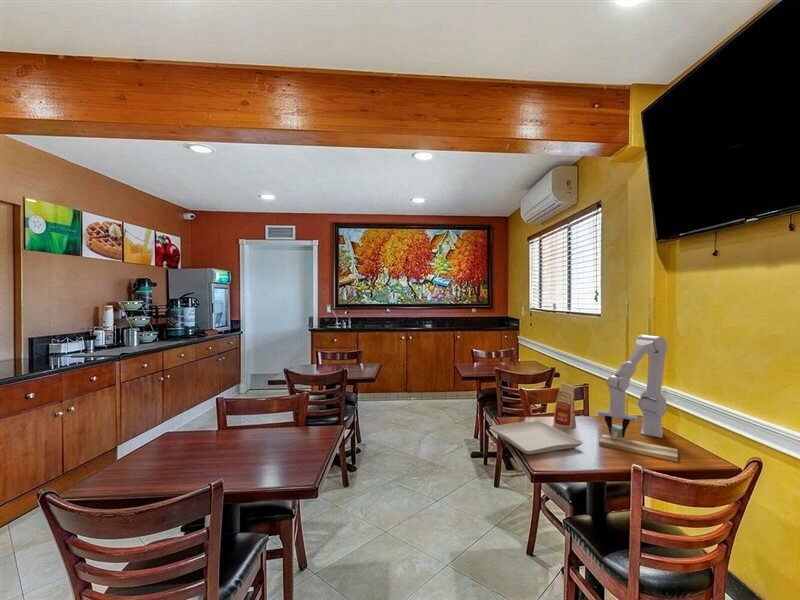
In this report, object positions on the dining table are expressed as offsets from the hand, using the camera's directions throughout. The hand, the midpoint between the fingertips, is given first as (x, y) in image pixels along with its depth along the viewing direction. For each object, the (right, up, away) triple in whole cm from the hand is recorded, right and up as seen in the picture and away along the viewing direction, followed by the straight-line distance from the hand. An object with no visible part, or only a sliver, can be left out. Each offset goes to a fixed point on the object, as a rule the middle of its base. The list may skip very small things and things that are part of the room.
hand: (616, 435), depth 163 cm
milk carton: (-14, -1, +18) cm, 23 cm away
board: (+2, -2, -11) cm, 11 cm away
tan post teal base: (-2, -1, -3) cm, 4 cm away
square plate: (-37, -2, -4) cm, 38 cm away
